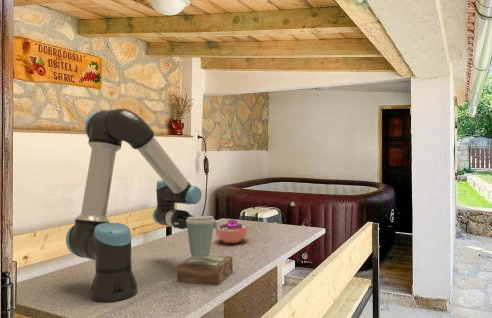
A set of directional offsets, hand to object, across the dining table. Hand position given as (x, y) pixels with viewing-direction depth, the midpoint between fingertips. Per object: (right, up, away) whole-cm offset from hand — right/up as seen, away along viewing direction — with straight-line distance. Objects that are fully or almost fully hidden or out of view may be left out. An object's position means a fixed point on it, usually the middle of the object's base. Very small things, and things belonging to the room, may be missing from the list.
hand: (213, 226), depth 149 cm
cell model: (+5, -19, +60) cm, 63 cm away
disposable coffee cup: (-5, -11, 0) cm, 12 cm away
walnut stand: (-3, -20, +4) cm, 21 cm away
